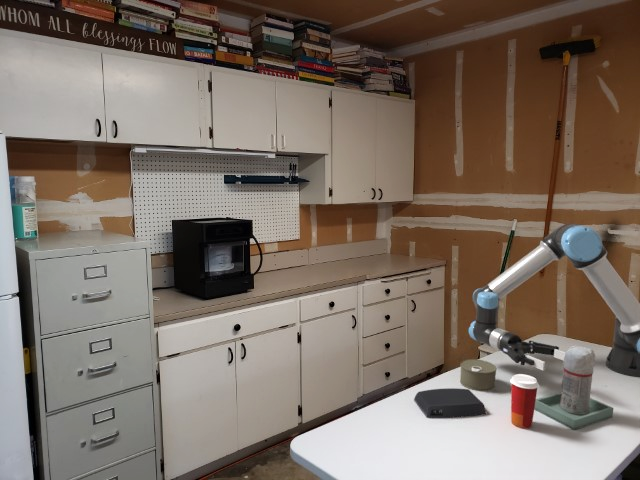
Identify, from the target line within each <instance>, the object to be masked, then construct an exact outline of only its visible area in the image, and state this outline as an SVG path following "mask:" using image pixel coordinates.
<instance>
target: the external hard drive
mask: <svg viewBox="0 0 640 480" xmlns="http://www.w3.org/2000/svg"><path fill="white" fill-rule="evenodd" d="M413 401H414V403H415V404H416V405H417V407H418V408H419V410H420V411H421V412H422V414H423V415H424V416H425V417H426V418H427V419H450V418H451V419H453V418H469V417H477V416H484V415H487V410H486V407H485V404H484V402H482V401H481V399H479V398H478V397H477V396H476V395H475V394H474V393H473V392H472V390H471V389H468V388H460V387H459V388H457V387H456V388H454V387H452V388H451V387H450V388H449V387H447V388H434V389H433V388H432V389H425V390H421V391H417V393H416V394H415V395H414V397H413Z"/></svg>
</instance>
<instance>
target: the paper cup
mask: <svg viewBox="0 0 640 480" xmlns="http://www.w3.org/2000/svg"><path fill="white" fill-rule="evenodd" d="M510 378H511V379H510V380H509V382H510V383H511V385H510V386H511V387H510V388H511V393H510V395H511V396H510V397H511V400H510V403H511V404H510V415H511V416H510V419H511V420H510V422H511V424H512V425H513V426H514V427H517V428H519V429H525V430H526V429H531V428H532V426H533V420H534V415H535V410H534V408H535V401H536V399H537V394H538V388H539V386H540V384H539V382H538V380H537V378H535V377H534V376H532V375H529V374H524V373H523V374H522V373H518V374H517V373H516V374H514V375H513V376H512V377H510Z"/></svg>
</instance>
